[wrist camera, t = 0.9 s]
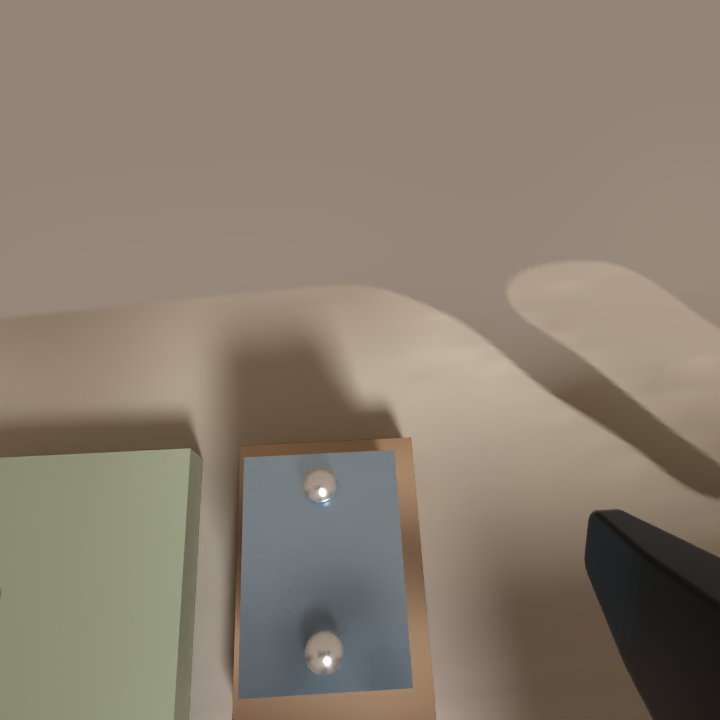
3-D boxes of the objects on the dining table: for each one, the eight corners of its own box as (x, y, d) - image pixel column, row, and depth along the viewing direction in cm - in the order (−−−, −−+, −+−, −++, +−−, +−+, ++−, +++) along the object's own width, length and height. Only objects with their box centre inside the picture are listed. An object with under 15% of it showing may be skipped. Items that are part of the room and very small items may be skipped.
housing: (403, 673, 20) (424, 705, 14) (261, 682, 20) (225, 717, 14) (389, 475, 23) (401, 435, 17) (264, 481, 23) (233, 443, 17)
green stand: (188, 725, 21) (172, 737, 19) (-59, 741, 21) (-99, 755, 19) (202, 459, 25) (190, 448, 23) (-7, 469, 25) (-36, 459, 23)
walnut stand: (429, 709, 21) (436, 721, 20) (242, 721, 21) (231, 734, 19) (406, 449, 25) (411, 437, 23) (248, 456, 25) (239, 445, 23)
